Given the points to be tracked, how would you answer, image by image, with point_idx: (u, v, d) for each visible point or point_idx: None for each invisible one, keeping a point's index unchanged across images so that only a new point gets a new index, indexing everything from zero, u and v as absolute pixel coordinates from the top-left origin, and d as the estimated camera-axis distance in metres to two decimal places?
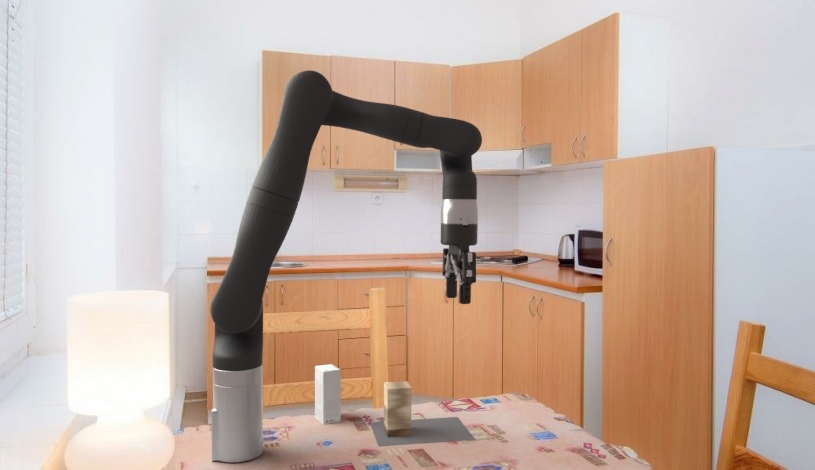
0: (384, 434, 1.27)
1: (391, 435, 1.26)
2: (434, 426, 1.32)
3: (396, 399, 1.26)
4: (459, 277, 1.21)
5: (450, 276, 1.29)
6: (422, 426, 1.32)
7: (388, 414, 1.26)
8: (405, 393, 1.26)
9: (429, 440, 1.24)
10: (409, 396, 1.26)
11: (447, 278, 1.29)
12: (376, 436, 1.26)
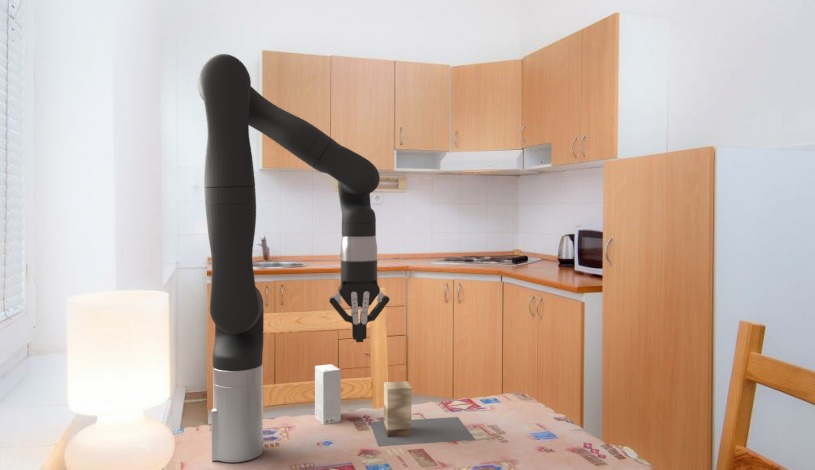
0: (384, 434, 1.27)
1: (391, 435, 1.26)
2: (434, 426, 1.32)
3: (396, 399, 1.26)
4: (364, 316, 1.25)
5: None
6: (422, 426, 1.32)
7: (388, 414, 1.26)
8: (405, 393, 1.26)
9: (429, 440, 1.24)
10: (409, 396, 1.26)
11: (358, 322, 1.25)
12: (376, 436, 1.26)
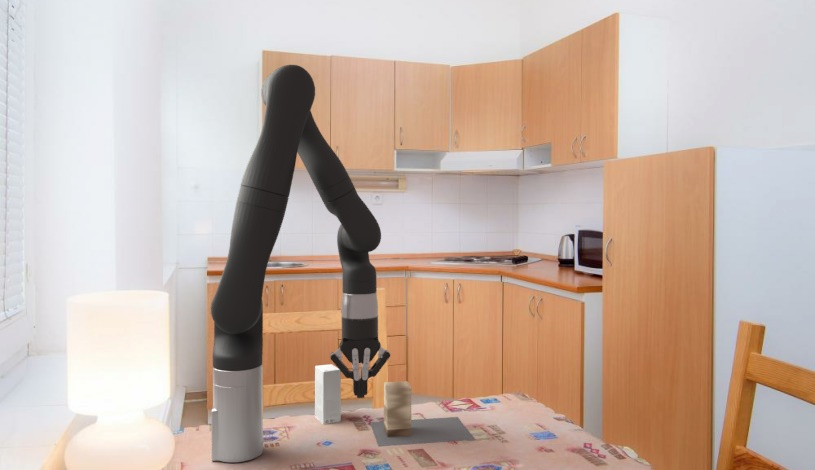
0: (384, 434, 1.27)
1: (391, 435, 1.26)
2: (434, 426, 1.32)
3: (396, 399, 1.26)
4: (365, 372, 1.26)
5: None
6: (422, 426, 1.32)
7: (388, 414, 1.26)
8: (405, 393, 1.26)
9: (429, 440, 1.24)
10: (409, 396, 1.26)
11: (359, 378, 1.26)
12: (376, 436, 1.26)
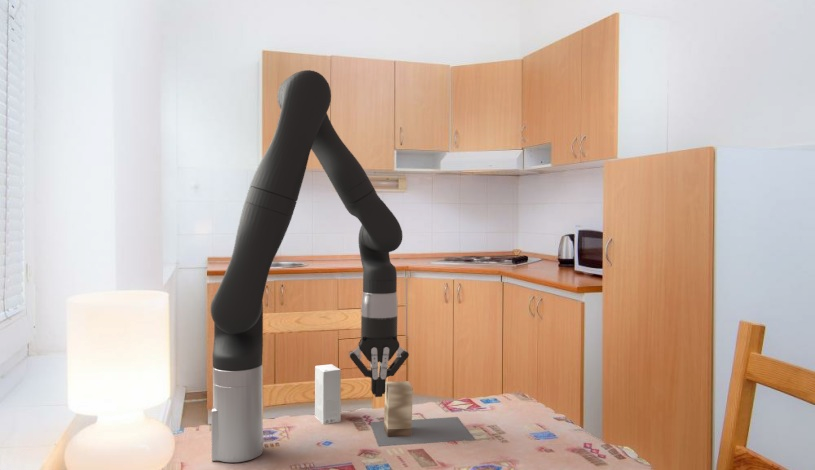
0: (384, 434, 1.27)
1: (391, 434, 1.26)
2: (434, 426, 1.32)
3: (397, 399, 1.26)
4: (384, 371, 1.26)
5: None
6: (422, 426, 1.32)
7: (389, 413, 1.26)
8: (406, 393, 1.26)
9: (429, 440, 1.24)
10: (410, 396, 1.26)
11: (377, 377, 1.26)
12: (376, 436, 1.26)
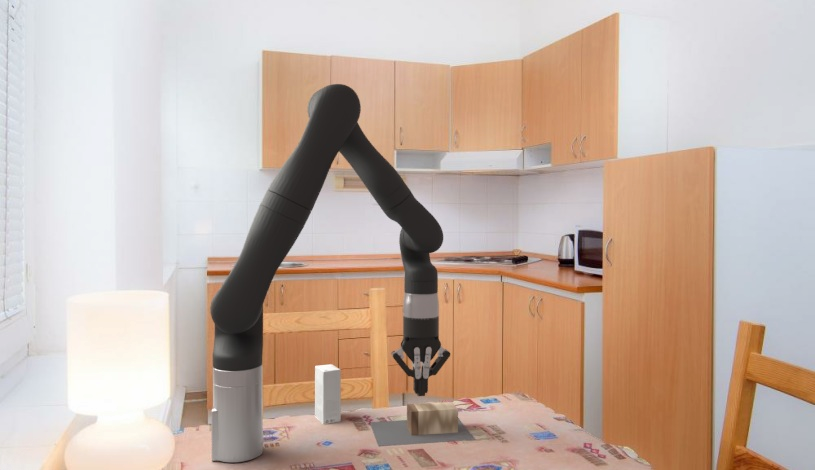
0: (384, 434, 1.27)
1: (413, 415, 1.26)
2: None
3: (447, 418, 1.28)
4: (426, 371, 1.28)
5: None
6: None
7: (433, 411, 1.27)
8: (452, 426, 1.28)
9: (429, 440, 1.24)
10: (449, 431, 1.28)
11: None
12: (376, 436, 1.26)
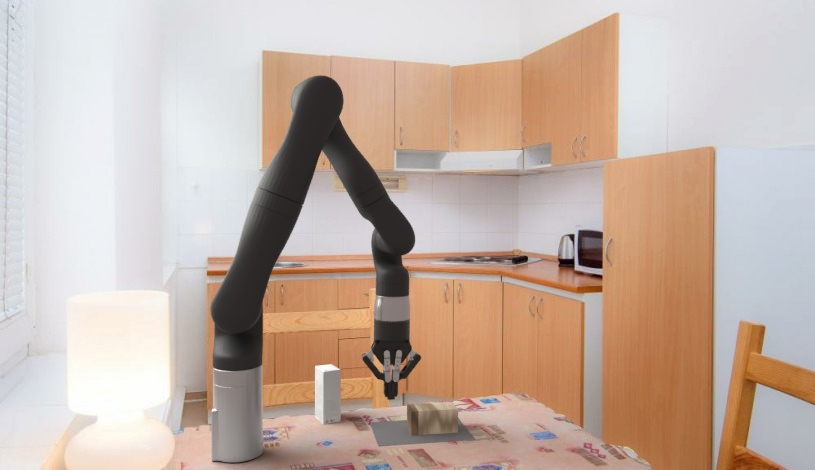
0: (384, 434, 1.27)
1: (413, 415, 1.26)
2: None
3: (447, 418, 1.28)
4: (396, 374, 1.27)
5: None
6: None
7: (433, 411, 1.27)
8: (452, 426, 1.28)
9: (429, 440, 1.24)
10: (449, 431, 1.28)
11: (390, 380, 1.27)
12: (376, 436, 1.26)
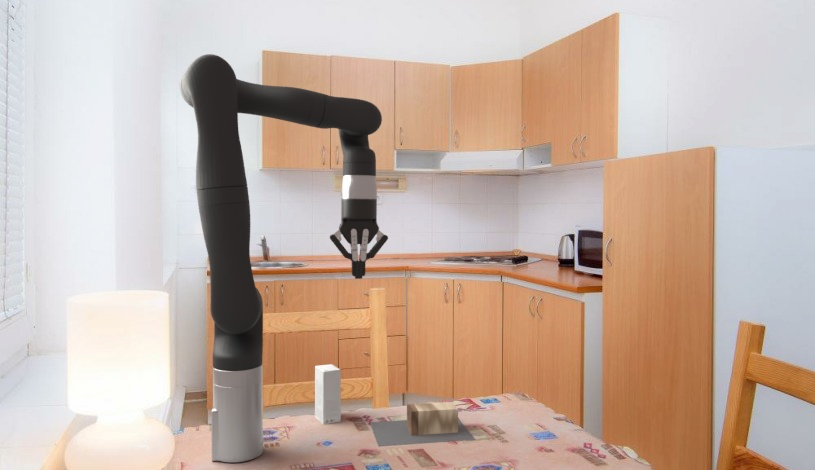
0: (384, 434, 1.27)
1: (413, 415, 1.26)
2: None
3: (447, 418, 1.28)
4: (363, 253, 1.29)
5: None
6: None
7: (433, 411, 1.27)
8: (452, 426, 1.28)
9: (429, 440, 1.24)
10: (449, 431, 1.28)
11: (357, 259, 1.29)
12: (376, 436, 1.26)
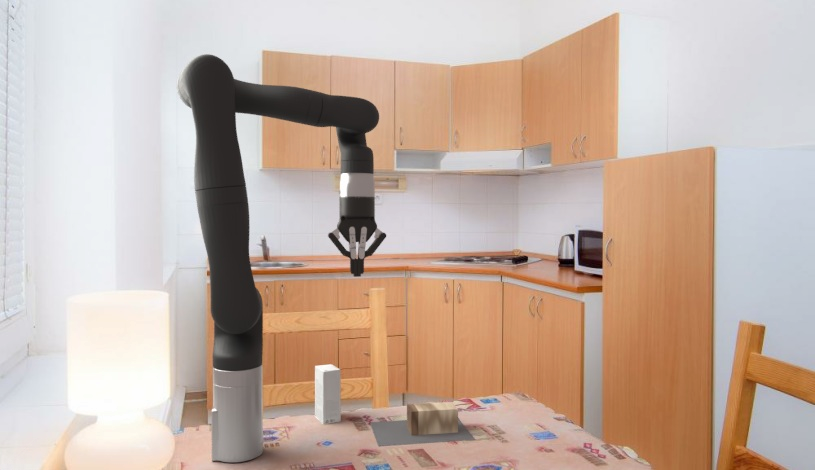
0: (384, 434, 1.27)
1: (413, 415, 1.26)
2: None
3: (447, 418, 1.28)
4: (362, 251, 1.30)
5: None
6: None
7: (433, 411, 1.27)
8: (452, 426, 1.28)
9: (429, 440, 1.24)
10: (449, 431, 1.28)
11: None
12: (376, 436, 1.26)
